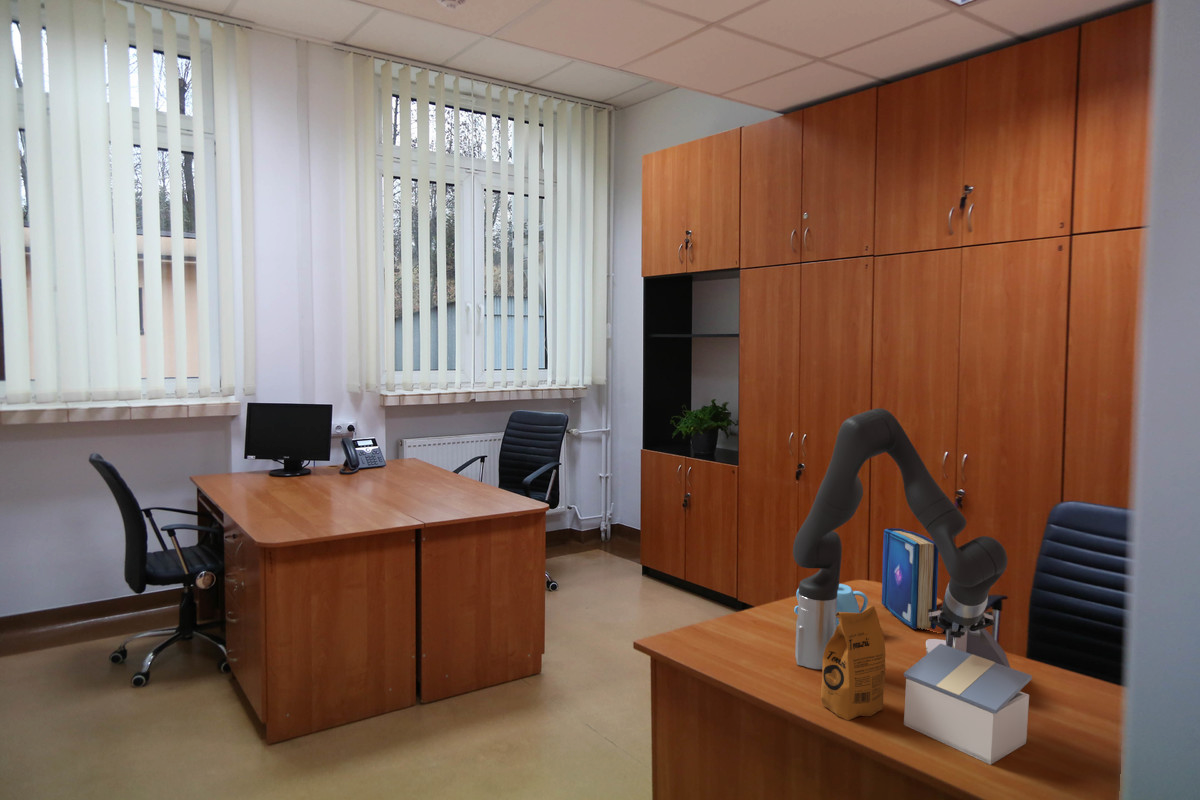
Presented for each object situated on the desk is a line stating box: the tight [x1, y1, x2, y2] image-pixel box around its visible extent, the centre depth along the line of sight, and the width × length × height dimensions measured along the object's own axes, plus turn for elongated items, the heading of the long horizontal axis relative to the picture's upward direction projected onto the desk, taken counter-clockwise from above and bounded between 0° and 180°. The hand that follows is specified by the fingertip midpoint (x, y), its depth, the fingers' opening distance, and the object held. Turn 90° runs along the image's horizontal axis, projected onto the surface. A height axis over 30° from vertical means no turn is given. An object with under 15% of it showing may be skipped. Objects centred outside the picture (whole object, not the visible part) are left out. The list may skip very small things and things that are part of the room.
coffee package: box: [820, 605, 886, 721], centre depth 163 cm, size 10×12×22 cm
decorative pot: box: [793, 583, 869, 628], centre depth 210 cm, size 16×16×14 cm
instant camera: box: [925, 623, 1011, 668], centre depth 179 cm, size 21×21×15 cm
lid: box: [903, 643, 1033, 714], centre depth 152 cm, size 14×19×1 cm
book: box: [881, 527, 940, 630], centre depth 219 cm, size 22×7×25 cm, turn 5°
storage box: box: [903, 677, 1030, 766], centre depth 153 cm, size 14×18×10 cm
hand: (956, 633), depth 163 cm, fingers closed
